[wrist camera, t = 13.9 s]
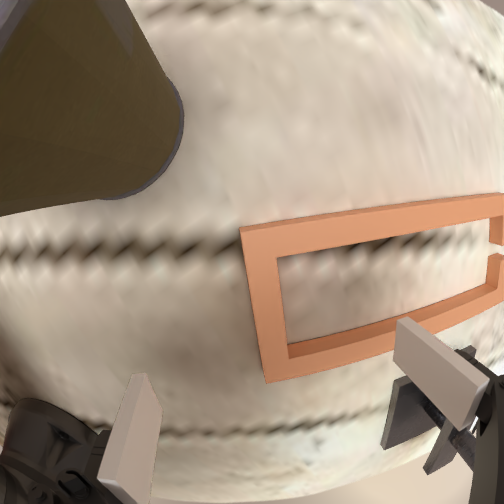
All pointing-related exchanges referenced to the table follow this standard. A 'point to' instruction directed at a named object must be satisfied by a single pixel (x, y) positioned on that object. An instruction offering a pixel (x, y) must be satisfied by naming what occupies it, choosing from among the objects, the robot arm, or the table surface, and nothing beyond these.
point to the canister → (80, 104)
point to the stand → (426, 425)
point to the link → (350, 232)
